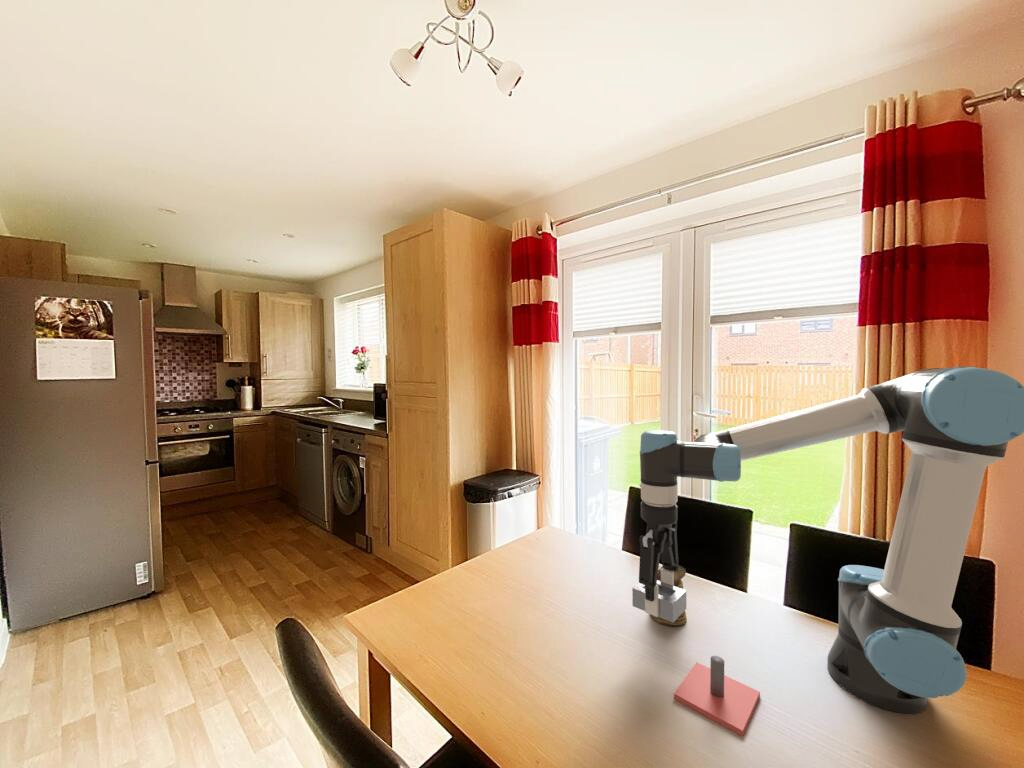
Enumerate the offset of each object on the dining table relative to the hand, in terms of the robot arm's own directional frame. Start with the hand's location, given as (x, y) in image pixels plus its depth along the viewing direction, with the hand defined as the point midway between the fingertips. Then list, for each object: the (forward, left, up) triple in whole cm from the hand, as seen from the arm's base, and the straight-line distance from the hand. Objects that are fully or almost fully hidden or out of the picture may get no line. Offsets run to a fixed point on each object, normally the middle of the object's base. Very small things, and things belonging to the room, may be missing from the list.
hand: (659, 606), depth 89 cm
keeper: (-12, +2, -12) cm, 18 cm away
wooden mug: (+5, -16, -13) cm, 21 cm away
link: (0, 0, 0) cm, 0 cm away
